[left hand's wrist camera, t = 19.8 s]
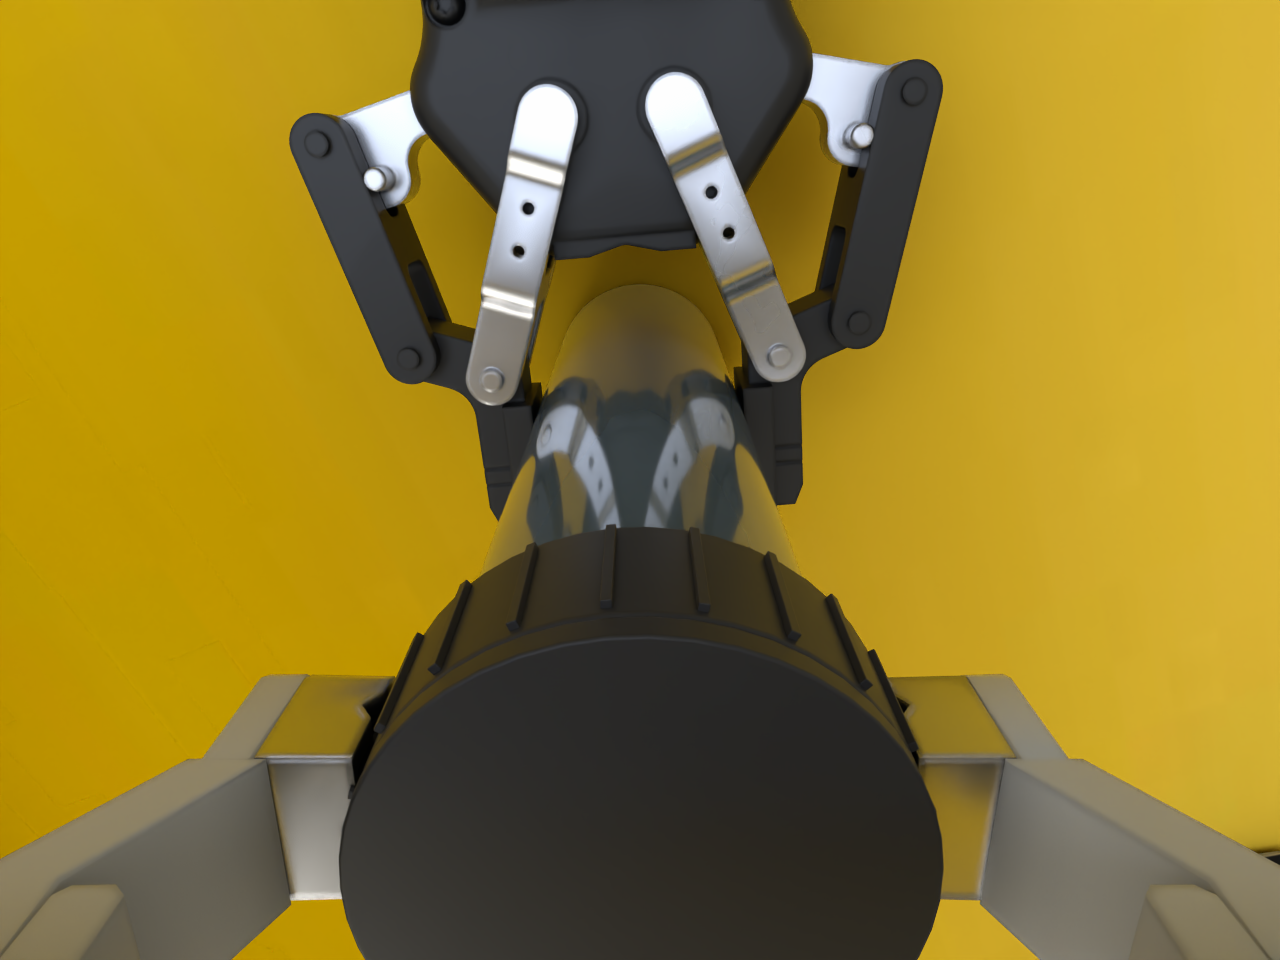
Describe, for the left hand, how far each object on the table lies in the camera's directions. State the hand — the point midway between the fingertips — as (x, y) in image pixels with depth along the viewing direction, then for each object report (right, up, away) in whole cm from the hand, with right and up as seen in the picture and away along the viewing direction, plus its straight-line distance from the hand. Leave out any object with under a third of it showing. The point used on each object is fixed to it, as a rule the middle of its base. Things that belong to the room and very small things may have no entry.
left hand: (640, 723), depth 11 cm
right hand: (0, +2, +12) cm, 12 cm away
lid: (0, -1, -2) cm, 2 cm away
